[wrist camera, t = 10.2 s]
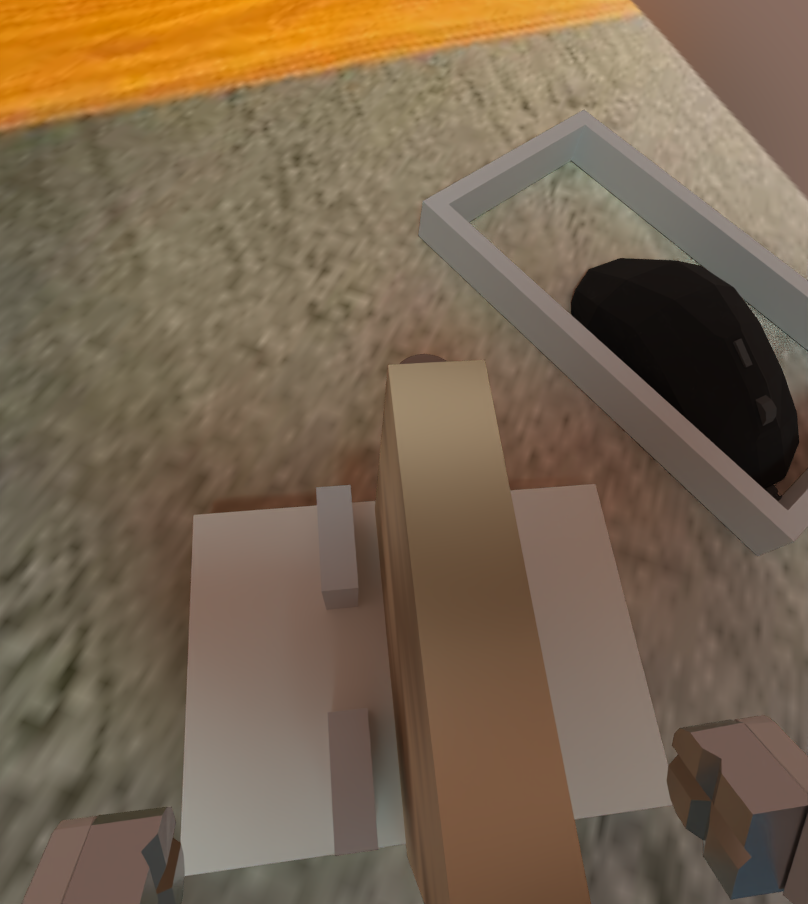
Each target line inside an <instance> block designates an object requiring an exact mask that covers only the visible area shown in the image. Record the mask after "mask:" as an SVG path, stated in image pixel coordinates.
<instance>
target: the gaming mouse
mask: <svg viewBox="0 0 808 904" xmlns="http://www.w3.org/2000/svg"><path fill="white" fill-rule="evenodd" d="M571 314H572V316H573V317H574V318H575V319H576V320H577V321H578V322H580V323H581V324H582V325H583V326H584V327H585V328H586V329H587V330H588V331H590V332H591V333H592V334H593V335H594V336H595V337H596V338H597V339H598V340H599V341H601V342H602V343H603V344H604V345H605V346H606V347H607V348H608V349H609V350H611V351H612V352H613V353H614V354H615V355H616V356H617V357H618V358H619V359H621V360H622V361H623V362H624V363H625V364H626V365H627V366H628V367H629V368H631V369H632V370H633V371H634V372H635V373H636V374H637V375H638V376H639V377H640V378H642V379H643V380H644V381H645V382H646V383H647V384H648V385H649V386H650V387H652V388H653V389H654V390H655V391H656V392H657V393H658V394H659V395H660V396H662V397H663V398H664V399H665V400H666V401H667V402H668V403H669V404H670V405H671V406H673V407H674V408H675V409H676V410H677V411H678V412H679V413H680V414H681V415H683V416H684V417H685V418H686V419H687V420H688V421H689V422H690V423H691V424H693V425H694V426H695V427H696V428H697V429H698V430H699V431H700V432H701V433H702V434H704V435H705V436H706V437H707V438H708V439H709V440H710V441H711V442H712V443H714V444H715V445H716V446H717V447H718V448H719V449H720V450H721V451H722V452H724V453H725V454H726V455H727V456H728V457H729V458H730V459H731V460H732V461H733V462H735V463H736V464H737V465H738V466H739V467H740V468H741V469H742V470H743V471H745V472H746V473H747V474H748V475H749V476H750V477H751V478H752V479H753V480H755V481H756V482H757V483H758V484H759V485H760V486H761V487H762V488H763V489H764V490H766V491H767V492H768V493H769V494H770V495H771V496H772V497H773V498H774V499H776V500H777V501H779V500H780V499H781V498H782V496H779V495H778V494H777V492H778V490H777V489H776V487H775V486H774V485H773V484H775V483H777V482H779V481H781V480H782V479H784V478H785V476H786V474H787V471H788V469H789V466H790V464H791V461H792V459H793V457H794V454H795V452H796V449H797V447H798V444H799V435H798V422H797V412H796V409H795V406H794V403H793V400H792V397H791V394H790V391H789V388H788V385H787V382H786V379H785V376H784V374H783V371H782V368H781V366H780V364H779V362H778V360H777V358H776V356H775V354H774V351H773V349H772V347H771V345H770V343H769V341H768V339H767V337H766V335H765V333H764V330H763V328H762V326H761V324H760V322H759V321H758V319H757V318H756V317H755V315H754V314H753V313H752V311H751V310H750V308H749V307H748V306H747V304H746V303H745V302H744V300H743V299H742V297H741V296H740V295H739V293H738V292H737V291H736V289H735V288H734V287H733V286H731V285H730V284H728V283H727V282H725V281H723V280H722V279H720V278H719V277H717V276H716V275H714V274H713V273H711V272H710V271H708V270H706V269H705V268H703V267H702V266H699V265H694V264H689V263H685V262H680V261H673V260H649V259H625V258H620V259H617V260H614V261H611V262H608V263H606V264H603V265H600V266H597V267H594V268H592V269H589V270H588V272H587V273H586V275H585V276H584V278H583V279H582V281H581V282H580V284H579V285H578V287H577V288H576V290H575V293H574V296H573V299H572V302H571Z"/></svg>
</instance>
